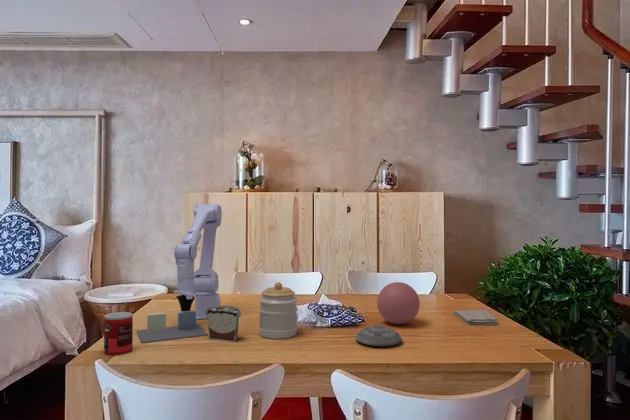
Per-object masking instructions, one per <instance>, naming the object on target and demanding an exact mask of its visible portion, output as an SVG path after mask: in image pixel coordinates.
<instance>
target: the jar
mask: <svg viewBox="0 0 630 420" xmlns="http://www.w3.org/2000/svg"><path fill="white" fill-rule="evenodd" d="M295 293H296V292H295V291H294V290H292V289H291V288H289V287H284V286H283V284H282V282H280V281H279V282H275V283H274V287H267V288H266V289H265V290H263V291H261V295H262V297H260V298H259V299H258V301H259V303H260V308H258V311H259V326H258V333H259V335H260V336H261V337H263V338H265V339H271V340H273V339H275V340H276V339H279V340H280V339H288V338H292V337H294V336H296V335H297V331H298V323H297V322H298V317H297V316H298V308H297V304H296V303H297V302H298V298H297V296H295Z"/></svg>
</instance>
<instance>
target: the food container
mask: <svg viewBox="0 0 630 420" xmlns="http://www.w3.org/2000/svg"><path fill="white" fill-rule="evenodd" d="M206 314H207V318H206V319H207V326H208V328H207V330H208V339H209V340H215V341H225V342H232V343H233V342H234V343H235V342H237V339H238V331H239V319H240V317H242V313H241V310H240V307H237V306H233V305H220V306H215V307H210V308H207V310H206Z"/></svg>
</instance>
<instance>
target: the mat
mask: <svg viewBox="0 0 630 420" xmlns="http://www.w3.org/2000/svg"><path fill="white" fill-rule="evenodd" d="M136 334H137V336H138V339H139V341H140V343H141V344H145V343H147V344H149V343H153V342H154V343H155V342H164V341H172V340H173V341H174V340H179V339H181V340H182V339H189V338H197V337H205V336H209V333H207V332H206V331H205V330H204V329H203V328H202V326H200V324H199V323H196V328H190V329H181V330H178V329H177V325H174V326H166V331H163V332H154V333H147V328H145V329H138V330H136Z"/></svg>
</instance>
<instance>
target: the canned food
mask: <svg viewBox="0 0 630 420" xmlns="http://www.w3.org/2000/svg"><path fill="white" fill-rule="evenodd" d="M133 318H134V317H133V313H132V312H128V311H116V312H110V313H106V314H104V315H103V351H104V353H105V354H106V355H108V356H120V355H125V354H128V353H131V352H132V351H133V345H134V344H133V342H134V341H133V338H134V337H133V327H134V326H133V323H134V322H133V321H134V320H133Z"/></svg>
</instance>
